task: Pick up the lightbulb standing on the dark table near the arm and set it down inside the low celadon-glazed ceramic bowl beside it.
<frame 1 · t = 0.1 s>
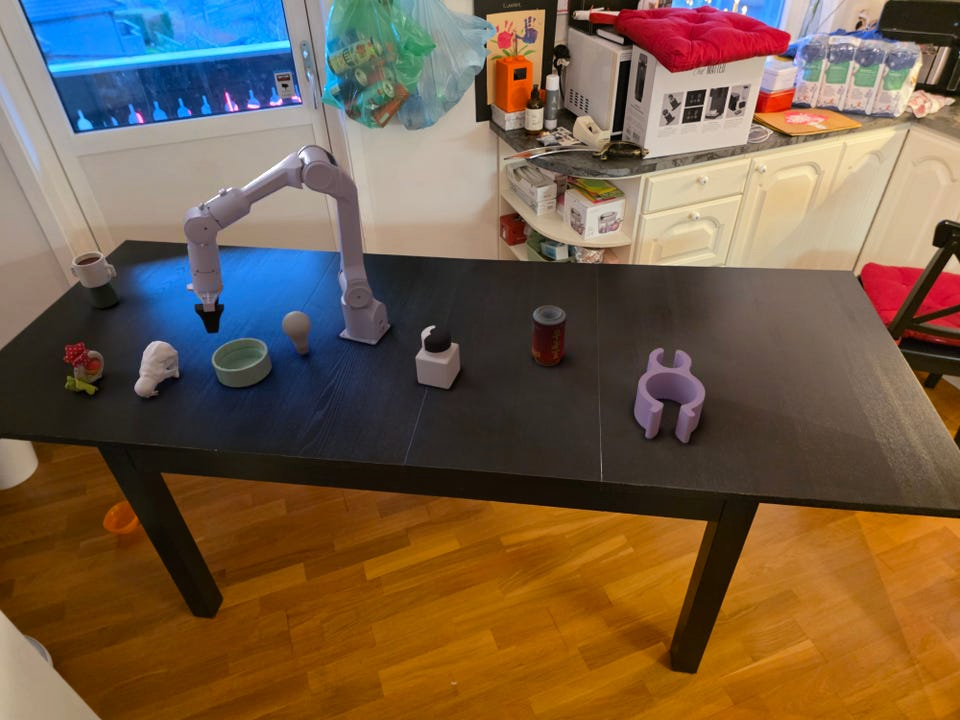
hand: (212, 322, 142), 11 cm above the table, tool pointing down, fingers open, 7 cm apart
soda can: (547, 358, 146), on the table
bowl: (245, 371, 145), on the table
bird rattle: (92, 385, 143), on the table
clip: (665, 406, 133), on the table
lightbulb: (303, 354, 150), on the table
character mug: (108, 303, 168), on the table
white crouching figurine: (159, 385, 142), on the table
medicine bottle: (439, 377, 142), on the table
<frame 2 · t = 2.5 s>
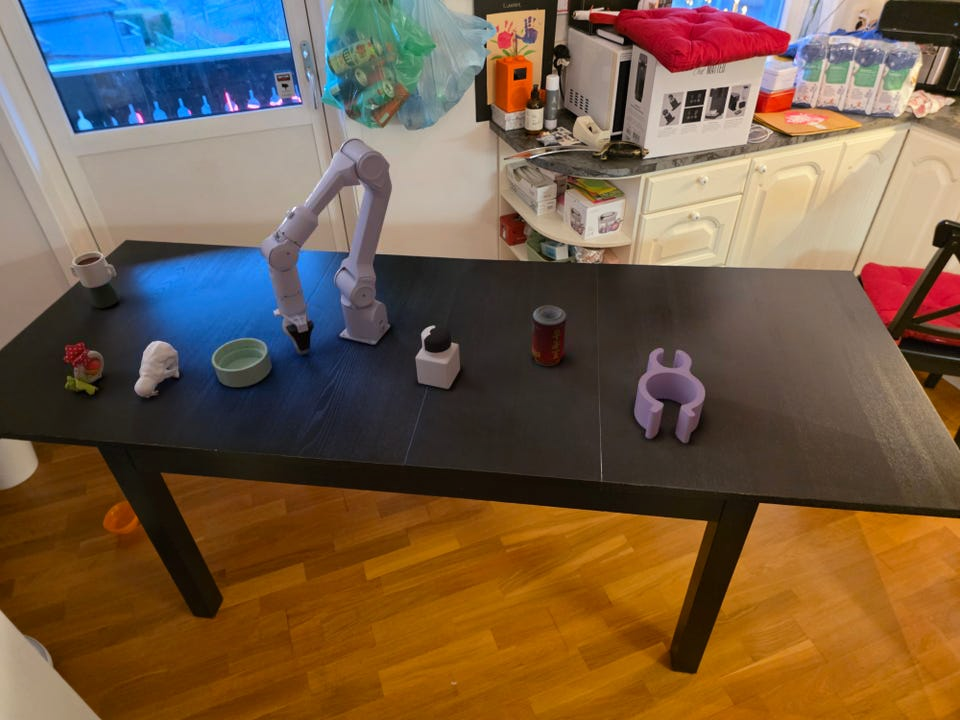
hand: (300, 341, 148), 3 cm above the table, tool pointing down, fingers closed on lightbulb, 6 cm apart
lightbulb: (303, 354, 150), on the table, touching gripper
everything else where it was.
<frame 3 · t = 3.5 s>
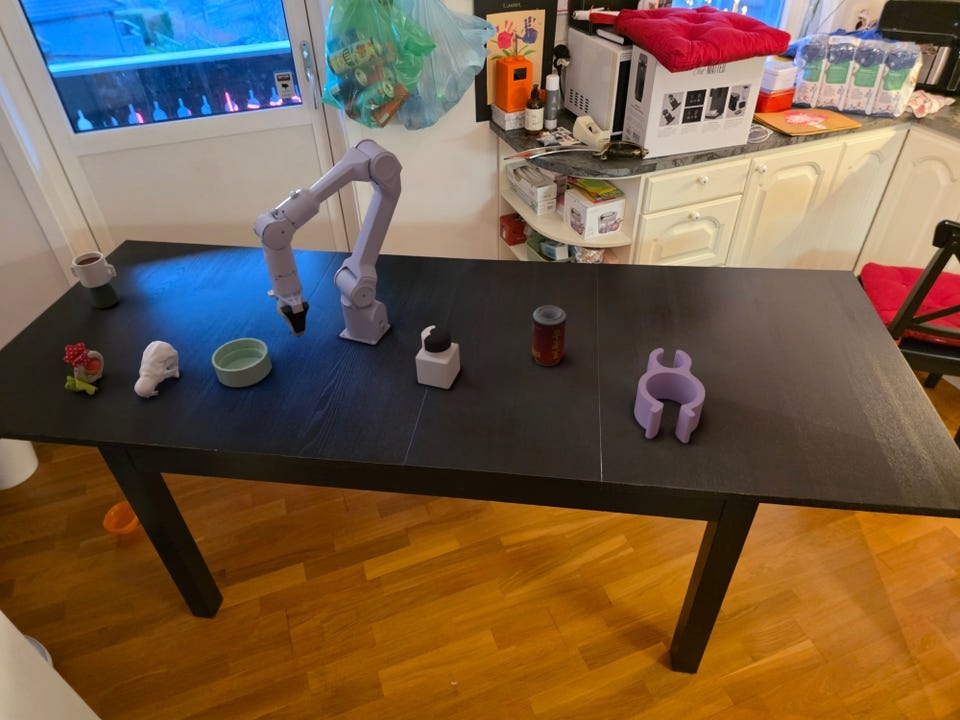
hand: (296, 323, 144), 8 cm above the table, tool pointing down, fingers closed on lightbulb, 6 cm apart
lightbulb: (299, 337, 147), point 5 cm above the table, touching gripper
everything else where it was.
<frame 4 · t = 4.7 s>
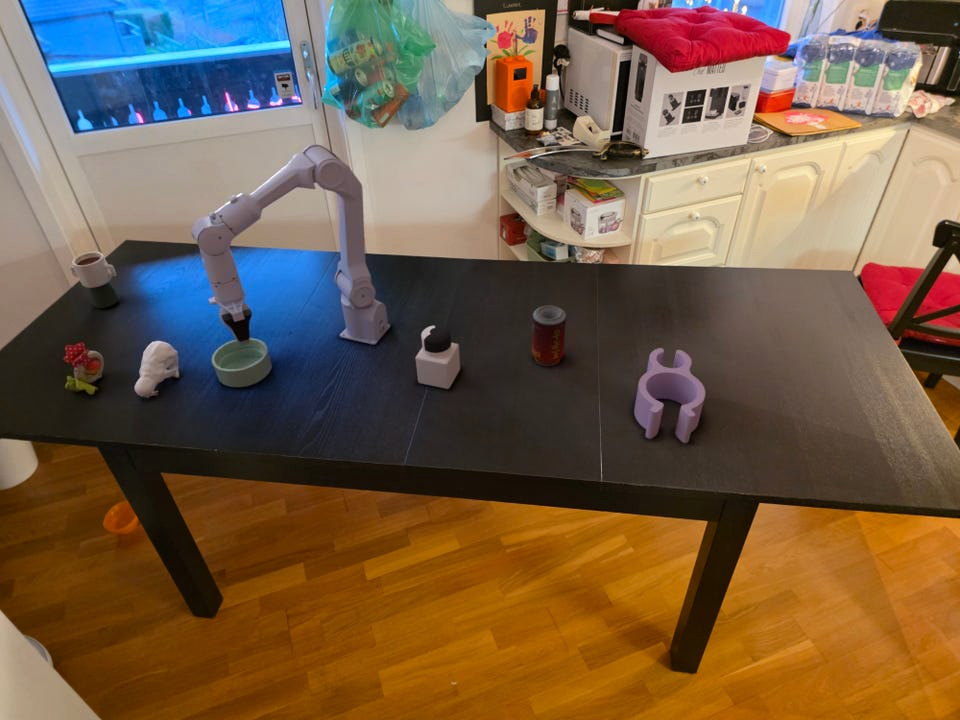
hand: (240, 331, 139), 10 cm above the table, tool pointing down, fingers closed on lightbulb, 6 cm apart
lightbulb: (244, 345, 141), point 7 cm above the table, touching gripper
everything else where it was.
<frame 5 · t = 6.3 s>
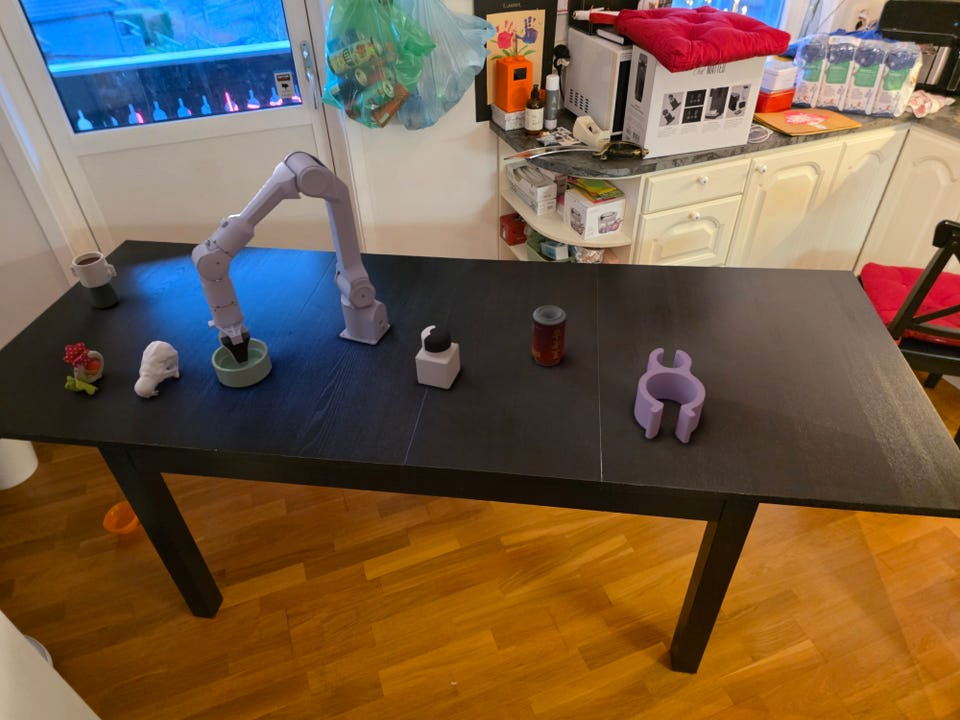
hand: (239, 353, 142), 5 cm above the table, tool pointing down, fingers closed on lightbulb, 6 cm apart
lightbulb: (243, 366, 144), point 2 cm above the table, touching gripper
everything else where it was.
when the fingers open (4 cm above the table, at t = 7.3 s): lightbulb stays where it is, resting on bowl.
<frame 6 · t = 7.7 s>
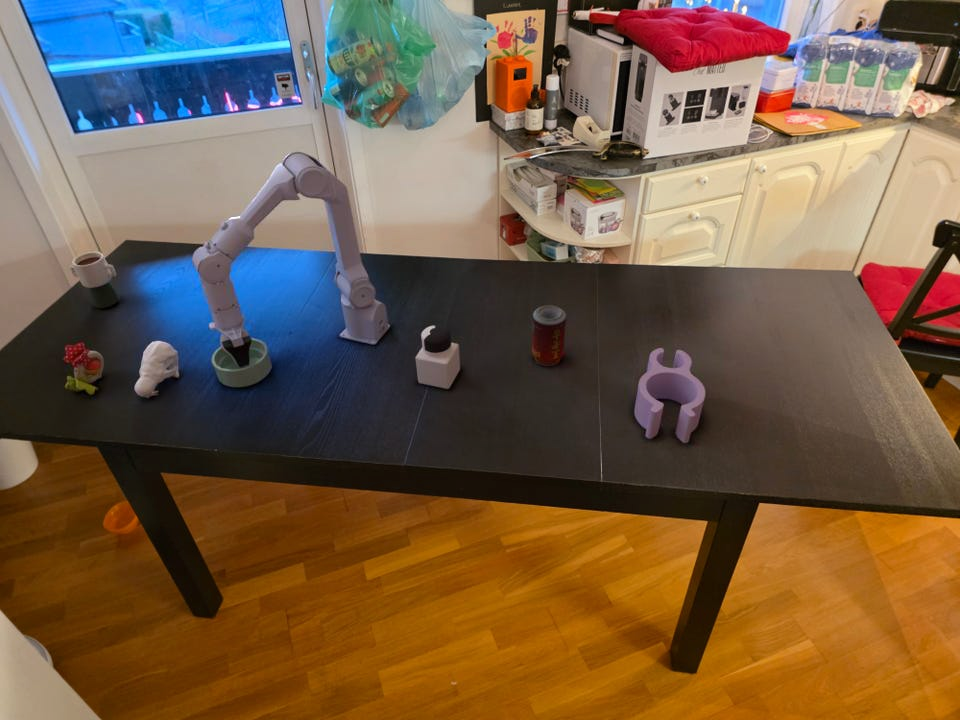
hand: (240, 355, 142), 5 cm above the table, tool pointing down, fingers open, 7 cm apart
lightbulb: (245, 370, 145), resting on bowl
everything else where it was.
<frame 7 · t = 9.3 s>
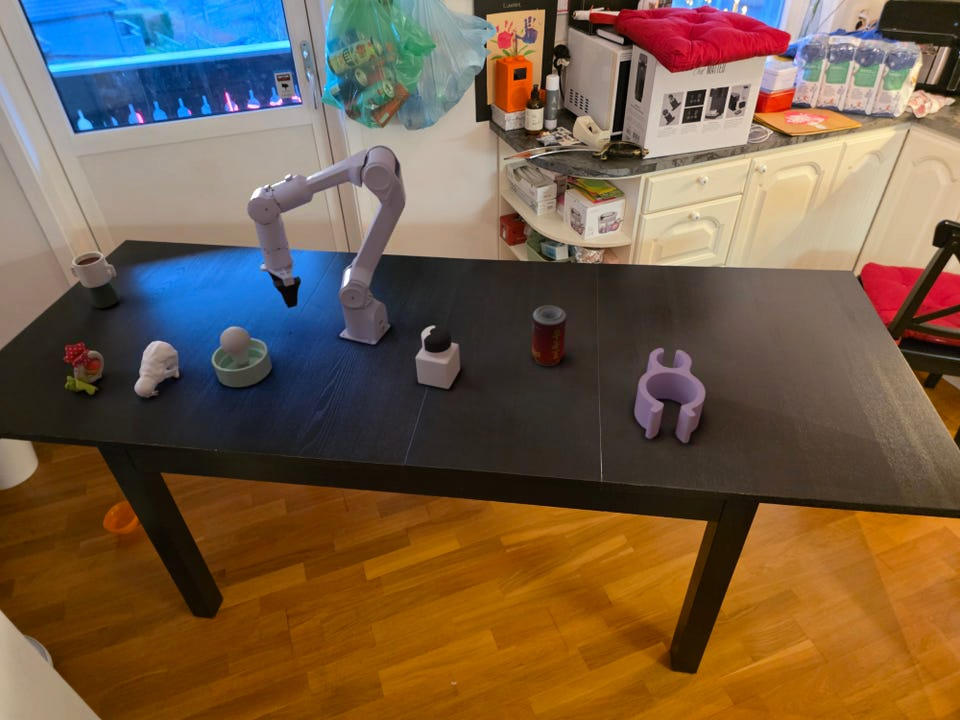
hand: (287, 298, 149), 10 cm above the table, tool pointing down, fingers open, 7 cm apart
nothing on the table moved.
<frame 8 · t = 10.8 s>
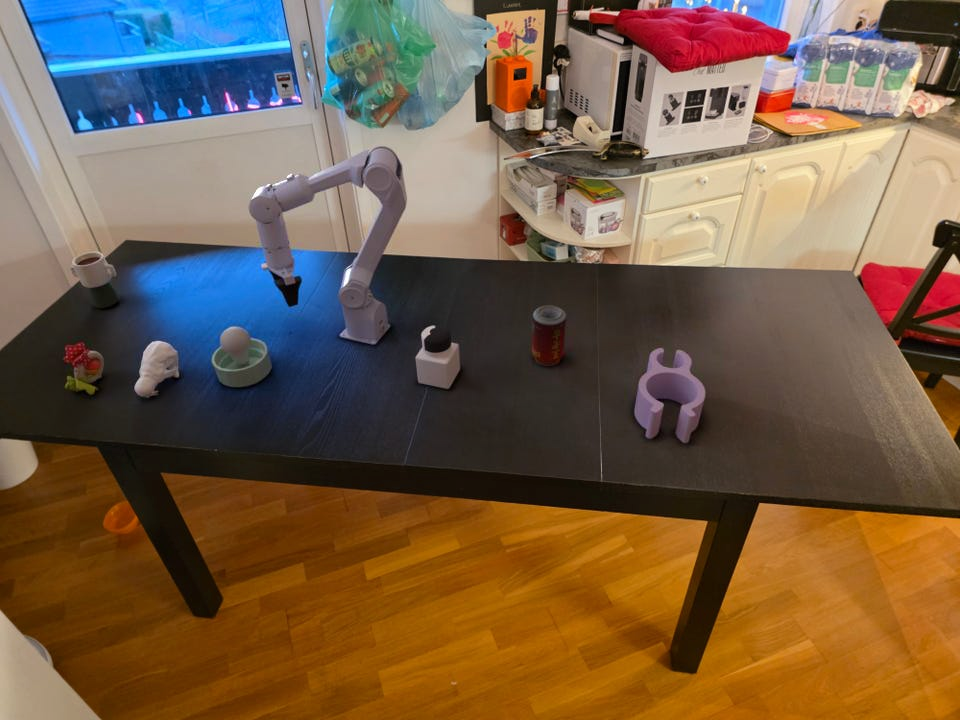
hand: (288, 297, 149), 10 cm above the table, tool pointing down, fingers open, 7 cm apart
nothing on the table moved.
at the end: lightbulb inside the target area in the bowl (0.0 cm from its centre), point 0.4 cm above the bowl's base; the gripper is holding nothing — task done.
